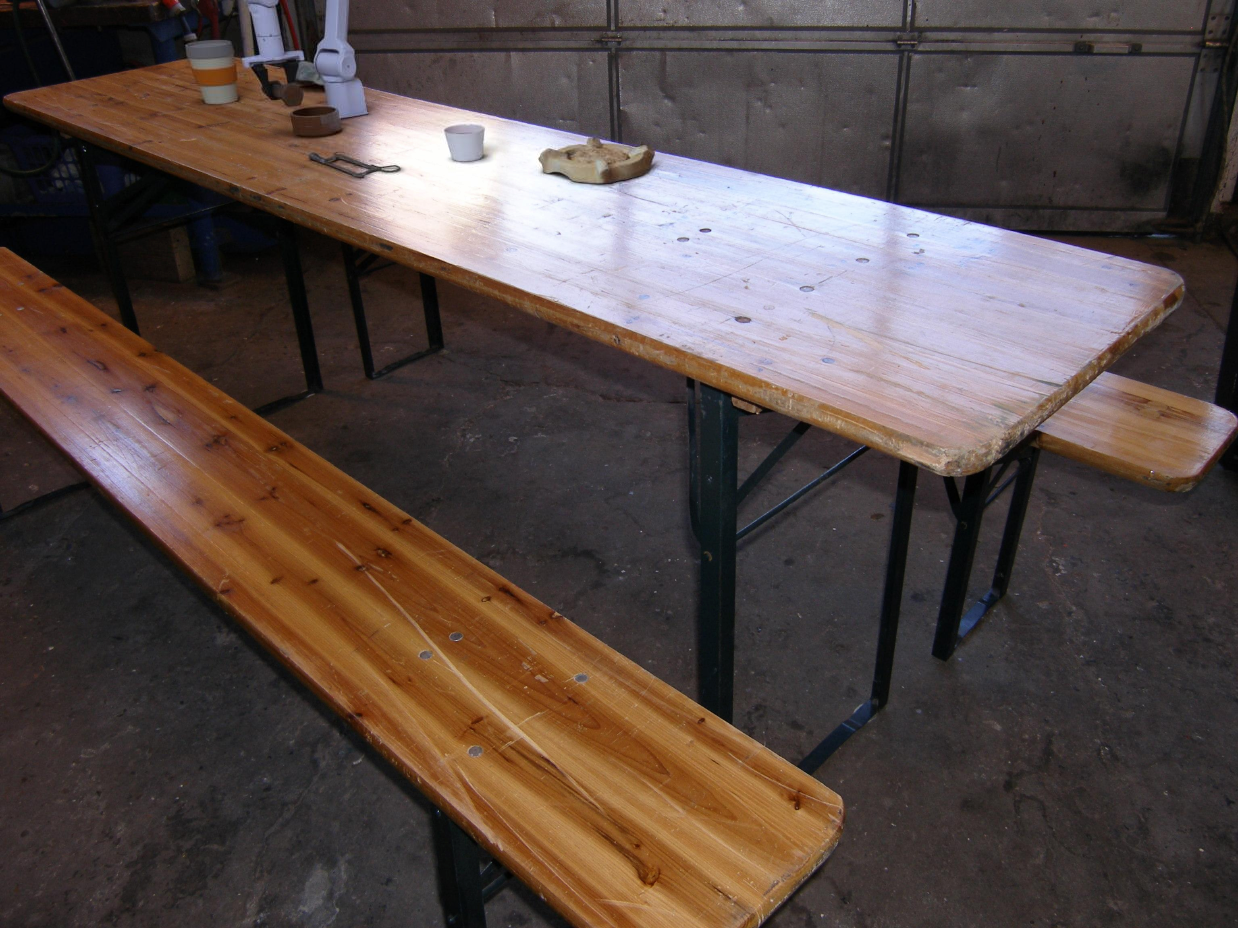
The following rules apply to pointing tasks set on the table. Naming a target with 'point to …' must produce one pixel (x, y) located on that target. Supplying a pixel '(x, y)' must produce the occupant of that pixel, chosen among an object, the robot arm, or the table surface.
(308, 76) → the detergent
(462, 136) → the white tapered cup
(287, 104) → the bolt
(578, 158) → the ashtray
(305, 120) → the bowl
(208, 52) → the reusable coffee cup
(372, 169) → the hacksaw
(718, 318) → the table surface
